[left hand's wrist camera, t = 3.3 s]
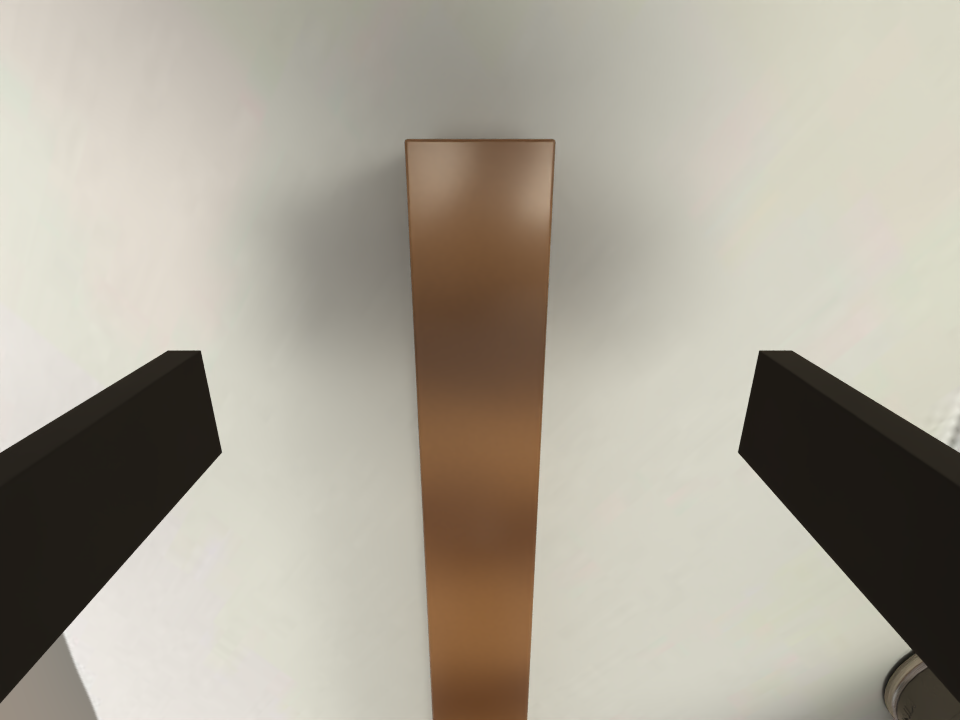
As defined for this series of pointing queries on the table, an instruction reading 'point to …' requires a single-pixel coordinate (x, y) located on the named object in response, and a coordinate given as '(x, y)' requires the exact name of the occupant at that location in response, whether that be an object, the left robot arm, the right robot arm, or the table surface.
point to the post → (480, 407)
